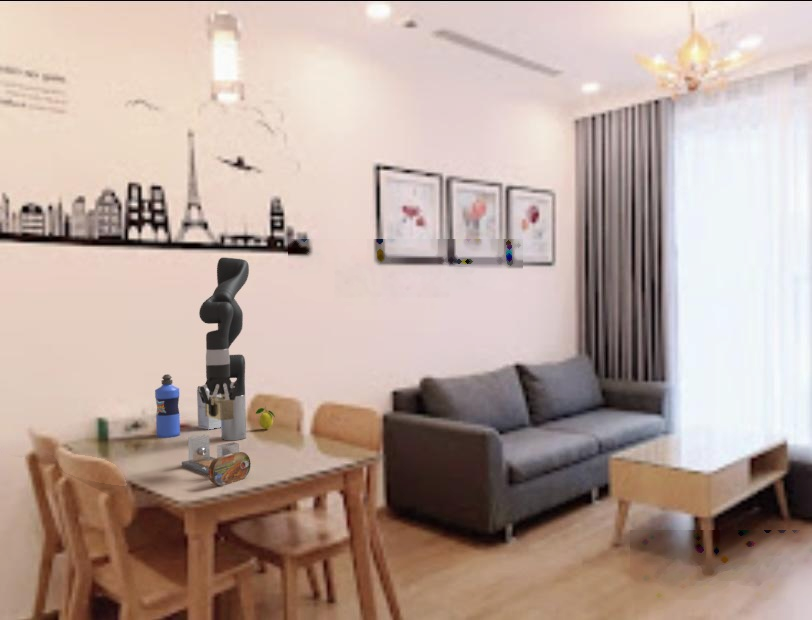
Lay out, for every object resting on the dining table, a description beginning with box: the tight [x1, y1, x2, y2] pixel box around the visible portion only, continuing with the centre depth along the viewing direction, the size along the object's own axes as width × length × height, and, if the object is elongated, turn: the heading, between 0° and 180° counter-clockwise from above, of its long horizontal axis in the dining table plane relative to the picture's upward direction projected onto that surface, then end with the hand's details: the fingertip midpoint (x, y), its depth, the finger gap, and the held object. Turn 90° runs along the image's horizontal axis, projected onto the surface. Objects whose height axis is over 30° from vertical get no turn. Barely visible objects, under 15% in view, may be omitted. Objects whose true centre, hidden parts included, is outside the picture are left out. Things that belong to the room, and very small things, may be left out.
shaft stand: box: [181, 434, 240, 476], centre depth 218 cm, size 25×10×10 cm, turn 45°
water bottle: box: [154, 374, 181, 439], centre depth 273 cm, size 9×9×25 cm
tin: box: [208, 451, 252, 487], centre depth 203 cm, size 15×3×8 cm, turn 148°
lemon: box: [254, 407, 276, 431], centre depth 282 cm, size 7×6×10 cm
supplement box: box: [196, 388, 221, 431], centre depth 290 cm, size 10×9×17 cm
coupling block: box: [205, 397, 234, 420], centre depth 219 cm, size 12×4×6 cm, turn 41°
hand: (219, 415), depth 219 cm, fingers closed on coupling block, 4 cm apart
